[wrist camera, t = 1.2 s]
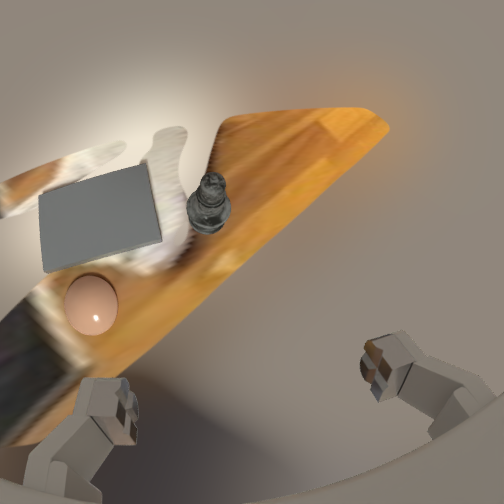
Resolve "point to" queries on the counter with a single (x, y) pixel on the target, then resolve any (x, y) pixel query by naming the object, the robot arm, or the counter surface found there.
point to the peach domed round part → (91, 305)
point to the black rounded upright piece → (209, 204)
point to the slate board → (97, 218)
